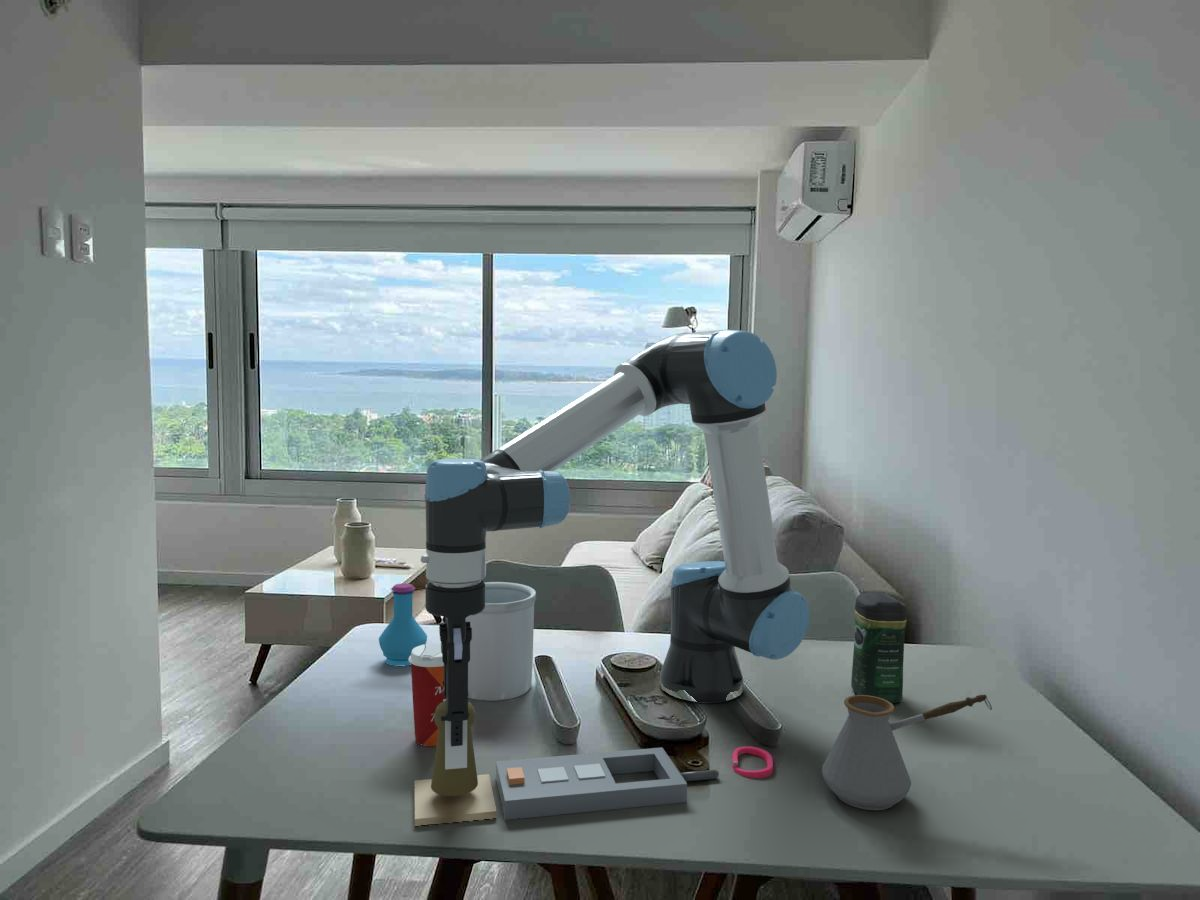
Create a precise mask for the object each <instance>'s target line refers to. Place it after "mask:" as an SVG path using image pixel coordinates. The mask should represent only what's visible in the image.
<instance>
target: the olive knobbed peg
mask: <svg viewBox="0 0 1200 900" xmlns="http://www.w3.org/2000/svg"><path fill="white" fill-rule="evenodd" d="M446 713H447V700H446V701H444V702H442V703H440V704H439V705H438V706H437V708H436V711H435V715H434V720H435V724H436V726H437V727H438V729H439V731H438V738H437V746H436V747H435V754H434V762H433V768H432V769H433V770H432V775H431V776H432V777H431V779H432V782H431V789H432V791H434V792H435V793H437V794H440V795H443V796H459V795H464V794H467V793H470V792H471V791H473V790H474V789H475V788H476V787H477V786H478V779H477V775H478V773H477V764H476V758H475V749H474V743H473V735H472V734H473V733H472V726H473V725H474V723H475V718H476V709H475V707H474V706H473V704H472V703H471V702H470V701H468V713H469V717H468V720H467V768H458V769H446V770H445V721H441V715H446Z"/></svg>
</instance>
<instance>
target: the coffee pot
mask: <svg viewBox="0 0 1200 900" xmlns="http://www.w3.org/2000/svg"><path fill="white" fill-rule="evenodd" d="M982 702H984V703H985V705H986V707H987V708H988V709H989V710H990V711H993V706H992V704H991V702H990V700H989V699H988V696H987V694H979V695H976V696H975V697H969V696H967V697H966V698H965V700H964V699H963V700H959V701H958V700H957V701H952V702H948V703H945V704H943V705H940V706H938V707H935V708H932V709H930V710H927V711H924V712H921V713H919V714H917V715H914V716H911V717H906V718H904V719H899V720H896V721H893V722H890V721H889V720H890V717H891V714H893V713H894V711H895V706H894V703H890V702H889V701H887V700H885V699H882V698H879V697H874V696H868V695H857V694H856V695H850V696H848V697H845V699H844V702H843V703H844V705H845V708H847V712H848V713H847V714H848V717H847V718H846V720H845V722H844V724H843V726H842V728H841V729H840V731H839V733H838V734H837V738H836V740H835V741H834V743H833V745H832V746H831V749H830V750H829V753H828V755H827V756H826V758H825V760H824V762H823V764H822V767H821V773H822V774H821V775H822V777H823V779H824V782H825V783H826V785H827V787H828V788H829V789H830V790H831V791H832V792H833V793H834V794H835V795H836V797H837V798H838V799H839V800H840V801H842V802H844V803H845V804H847V805H849V806H851V807H854V808H857V809H862V810H867V811H868V810H869V811H883V810H887V809H889V808H892V807H893V806H894V805H895V804H898V803H899V802H901V801H902V800H903V799H904V798H906V796H907V795H908V793H909V792H910V789H911V785H912V781H911V778H910V775H909V774H910V773H909V772H908V770H907V769H908V768H906V764H905V762H904V759H903V757H902V754H901V751H900V749H899V748H900V747H899V746H898V742H897V740H896V738H895V735H894V732H893V731H894V730H895V731H896V730H899V729H901V728H904V727H907V726H909V725H913V724H915V723H919V722H921V721H925V720H929V719H933V718H937V717H940V716H944V715H950V714H953V713H956V712H957V711H960V710H961V709H963V708H966V707H973V705H974V704H976V703H982Z"/></svg>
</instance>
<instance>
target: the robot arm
mask: <svg viewBox="0 0 1200 900" xmlns="http://www.w3.org/2000/svg"><path fill="white" fill-rule="evenodd" d="M777 373H778V371H777V364H776V361H775V357H774V355H773V353H772V351H771V349H770V348H769V346H768V344H767V343H766V342H765V341H764V340H763V339H761V338H760V337H759V336H758V335H757V334H755V333H753V332H750V331H747V330H735V329H729V328H727V329H716V330H707V331H695V332H694V331H693V332H680V333H679V332H678V333H675V334H672V335H669V336H666V337H665V338H663V339H661V340H660V339H659V340H658V341H657V342H655V343H653V344H651V345H649V346H648V347H646V348H644V349H643V350H641V351H639V352H638V353H636V354H634V355H633V356H632V357H630V358H628V359H626V360H625V361H623V362H621V364H619V365H617V366H616V367H615V370H614V372H613V376H611V377H610V378H608V379H606V380H604V381H603V382H602V383H600V384H598V385H597V386H596V387H593V388H592V389H591V390H589V391H587V392H586V393H585V394H583V395H581V396H580V397H578V398H576V399H575V400H574V401H572V402H570V403H569V404H567V405H566V406H564V407H562V408H561V409H559V410H557V411H556V412H554V413H553V414H551V415H550V416H548V417H547V418H545V419H544V420H543V419H542V421H540V422H539V423H537V424H535V425H534V426H533V427H531V428H529V429H527V430H526V431H524V432H522V433H521V434H519V435H518V436H516V437H515V438H513V439H511V440H510V441H508V442H507V443H505V444H504V445H502V446H501V447H499V448H498V449H495V450H493V451H492V452H489V454H487V455H485V456H484V457H482V458H480V459H474V458H442V459H441V458H440V459H436V460H433V461H432V462H431V463H429V464H428V466H427V468H426V477H425V489H424V490H425V492H424V501H425V538H426V539H425V548H426V551H425V553H426V555H421V557H420V563H422V564H425V565H426V566H425V578H426V579H427V580H428V582H427V583H426V584H425V611H426V612H427V613H428V614H430V615H433V616H435V617H439V618H440V617H442V622H439V624H438V627H439V629H438V630H439V631H438V632H439V640H440V643H441V653H442V661H443V663H444V680H443V686H444V691H443V695H444V697H447V699H443V702H444V701H446V700H447V713H446V715H441V721H445V770H446V769H458V768H467V720H468V717H469V713H468V702H469V698H468V695H469V693H468V662H469V661H470V641H471V640H472V627H470V622H466V617H468V616H470V615H476V614H478V613H480V612H482V611H483V610H484V608H485V582H484V581H483V579H484V578H486V575H487V546H486V542H487V539H486V538H487V532H497V531H505V530H506V531H507V530H518V529H532V528H533V529H534V528H539V529H542V528H545V527H549V526H554V525H559V524H561V523H562V522H563V521H565V520H566V518H567V516H568V514H569V512H570V507H571V491H570V487H569V484H568V482H567V480H566V478H565V477H564V476H563V475H562V474H561V473H560V472H558V471H557V470H558V469H559V468H561V467H562V466H564V465H565V464H567V463H569V462H570V461H571V460H573V459H574V458H576V457H577V456H579V455H580V454H581V453H583V452H585V451H587V450H588V449H589V448H591V447H592V446H594V445H596V444H597V443H598V442H600V441H601V440H603V439H604V438H606V437H607V436H609V435H610V434H612V433H613V432H614V431H615V432H616V430H618V429H620V428H621V427H622V426H624V425H626V424H627V423H628V422H630V421H632V420H633V419H634V418H636V417H637V416H642V417H648V416H650V415H652V414H654V412H656V411H657V410H660V409H661V408H665V407H669V406H673V405H674V406H675V405H679V404H681V405H689V409H690V414H691V422H692V423H693V425H695V426H696V427H697V428H699V429H700V430H702V432H703V437H704V442H705V447H706V456H707V461H708V466H709V467H708V468H709V472H710V473H709V475H710V479H711V486H712V492H713V497H714V503H715V510H716V516H717V523H718V524H717V525H718V529H719V535H720V541H721V542H720V543H721V549H722V553H723V560H724V561H722V560H721V561H719V560H716V561H715V560H713V561H712V560H711V561H710V560H709V561H707V560H706V561H693V562H687V563H686V562H685V563H682V564H679V565H677V566H676V567H675V568H674V569H673V571H672V579H671V581H672V582H671V585H670V640H669V641H670V642H669V643H670V644H669V647H668V650H667V652H666V656H665V658H664V661H663V663H662V667H661V670H660V672H659V682H660V681H661V683H662V684H663V686H664V687H665V688H667V689H669V690H672V691H675V692H677V691H679V690H685V691H686V692H687V693H688V694H689V695H690V696H692V697H693V698H694V699H695V700H696V701H697V702H698V703H699V704H718V703H719V704H720V703H725V702H726V703H727V701H726V697H727V695H728V694H729V693H730V692H734V691H738V690H739V689H740V687H741V685H742V684H743V685H744V676H743V672H742V669H741V666H740V662H739V659H738V655H737V652H736V648H738V649H740V650H743V651H745V652H749V653H751V654H752V655H753V656H755V657H763V658H765V659H769V660H776V661H777V660H781V659H783V658H786V657H788V656H790V655H791V654H792V653H793V652H794V651H795V650H796V649H798V647H799V646H800V644H801V643H802V641H803V639H804V637H805V636H806V634H807V631H808V628H809V624H810V618H811V612H810V611H811V610H810V606H809V605H810V604H809V602H808V600H807V599H806V597H805V596H803V595H802V594H801V593H800V592H799V591H795V590H793V589H792V584H791V578H790V577H791V576H790V572H789V569H788V567H786V566H785V565H784V564H782V563H780V562H779V560H778V554H777V548H776V540H775V532H774V525H773V518H772V512H771V506H770V498H769V497H770V496H769V491H768V484H767V477H766V471H765V464H764V463H765V461H764V457H763V450H762V449H763V448H762V443H761V437H760V429H759V422H760V420H761V419H762V417H763V416H764V414H765V413H766V412H767V410H766V409H767V408H766V402H768V400H769V399H770V398H771V397H772V395H773V393H774V391H775V390H774V388H773V387H774V386H776V384H777V378H778V375H777ZM697 702H696V703H697Z"/></svg>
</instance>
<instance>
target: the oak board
mask: <svg viewBox="0 0 1200 900" xmlns="http://www.w3.org/2000/svg"><path fill="white" fill-rule="evenodd" d="M477 779H478V786H477V787H476V788H475V789H474V790H473V791H471V792H470V793H467V794H464V795H459V796H443V795H440V794H437V793H435V792H434V791H432V789H431V782H432V778H430V779H429V778H427V779H415V780H414V787H415V788H414V827H415V826H419V827H421V826H420V825H427V824H439V825H441V824H440V823H449V822H450V823H449V824H454V823H453V822H459V823H463V822H462V821H469V822H474V821H473V820H479V821H485V820H484V819H490V820H494V819H493V818H496V819H497V807H496V803H495V796H494V793H493V788H492V783H491V782H492V781H491V777H490V773H487V774H477Z"/></svg>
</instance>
